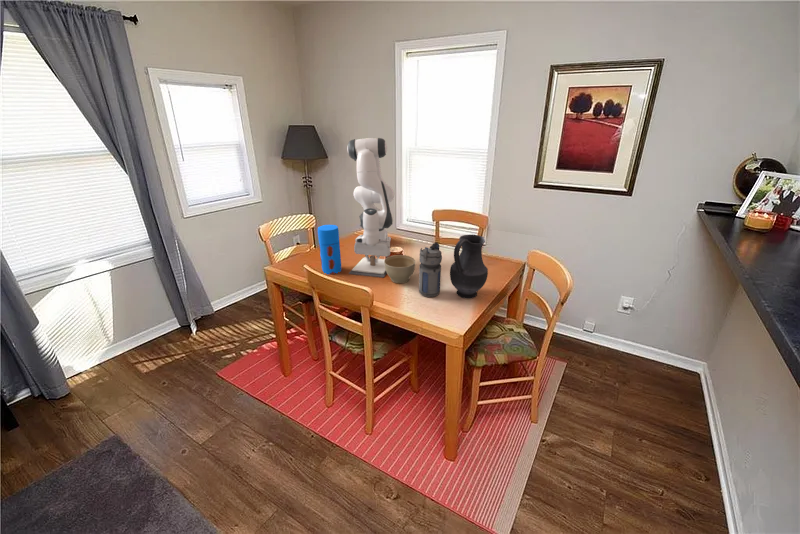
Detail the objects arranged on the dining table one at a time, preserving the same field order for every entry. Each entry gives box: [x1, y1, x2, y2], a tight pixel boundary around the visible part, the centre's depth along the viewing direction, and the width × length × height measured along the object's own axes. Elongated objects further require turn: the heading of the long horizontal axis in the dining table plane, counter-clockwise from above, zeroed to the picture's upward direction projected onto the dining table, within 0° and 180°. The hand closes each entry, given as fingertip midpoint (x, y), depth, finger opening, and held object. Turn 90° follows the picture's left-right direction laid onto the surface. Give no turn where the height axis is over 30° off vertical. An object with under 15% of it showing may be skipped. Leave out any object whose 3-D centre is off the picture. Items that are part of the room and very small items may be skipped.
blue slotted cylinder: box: [317, 224, 342, 275], centre depth 188 cm, size 11×11×25 cm
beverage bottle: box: [418, 241, 443, 298], centre depth 163 cm, size 10×13×25 cm
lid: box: [351, 255, 386, 274], centre depth 194 cm, size 18×18×6 cm
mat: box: [348, 269, 388, 279], centre depth 196 cm, size 22×20×1 cm
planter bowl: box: [384, 254, 416, 284], centre depth 179 cm, size 16×16×11 cm
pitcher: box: [449, 234, 489, 300], centre depth 159 cm, size 17×21×30 cm
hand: (372, 261), depth 195 cm, fingers closed on lid, 3 cm apart
